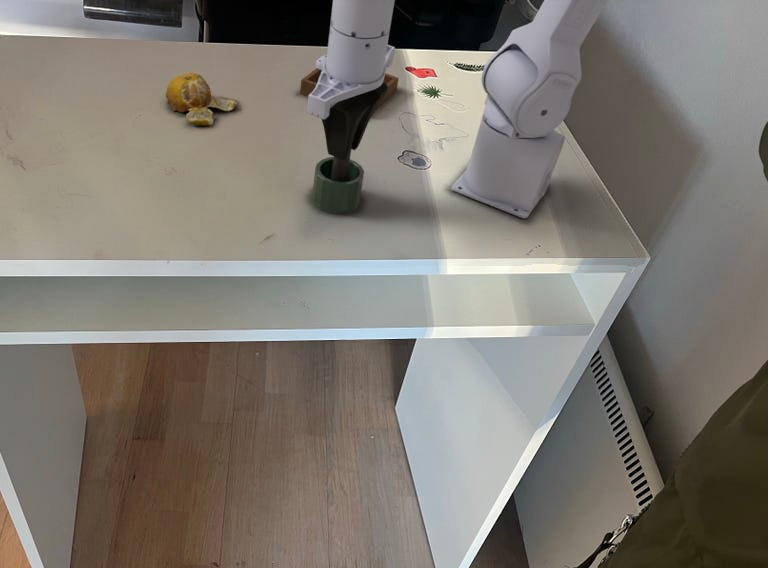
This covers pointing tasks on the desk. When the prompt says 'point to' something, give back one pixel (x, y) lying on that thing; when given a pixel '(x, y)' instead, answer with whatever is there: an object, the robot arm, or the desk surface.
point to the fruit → (195, 98)
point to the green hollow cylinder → (337, 188)
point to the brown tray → (312, 79)
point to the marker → (340, 169)
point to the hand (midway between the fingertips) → (342, 150)
